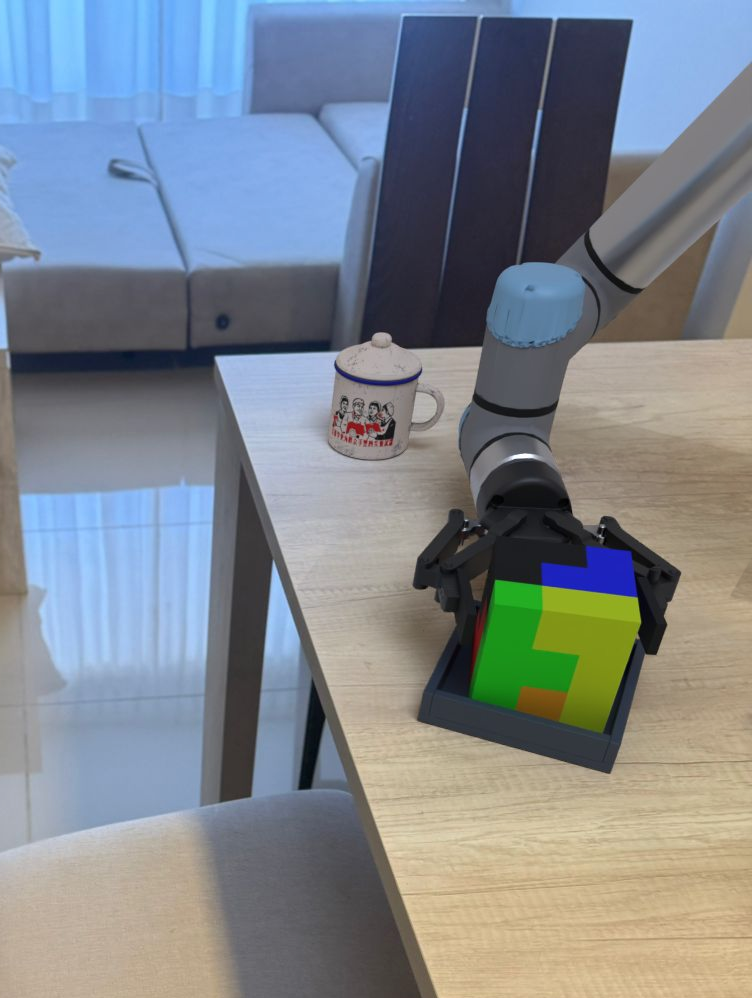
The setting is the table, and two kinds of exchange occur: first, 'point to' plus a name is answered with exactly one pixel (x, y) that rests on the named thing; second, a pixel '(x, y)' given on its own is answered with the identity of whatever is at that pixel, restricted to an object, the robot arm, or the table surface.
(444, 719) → the dark gray tray
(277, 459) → the table surface
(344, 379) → the teacup with lid
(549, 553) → the puzzle toy
